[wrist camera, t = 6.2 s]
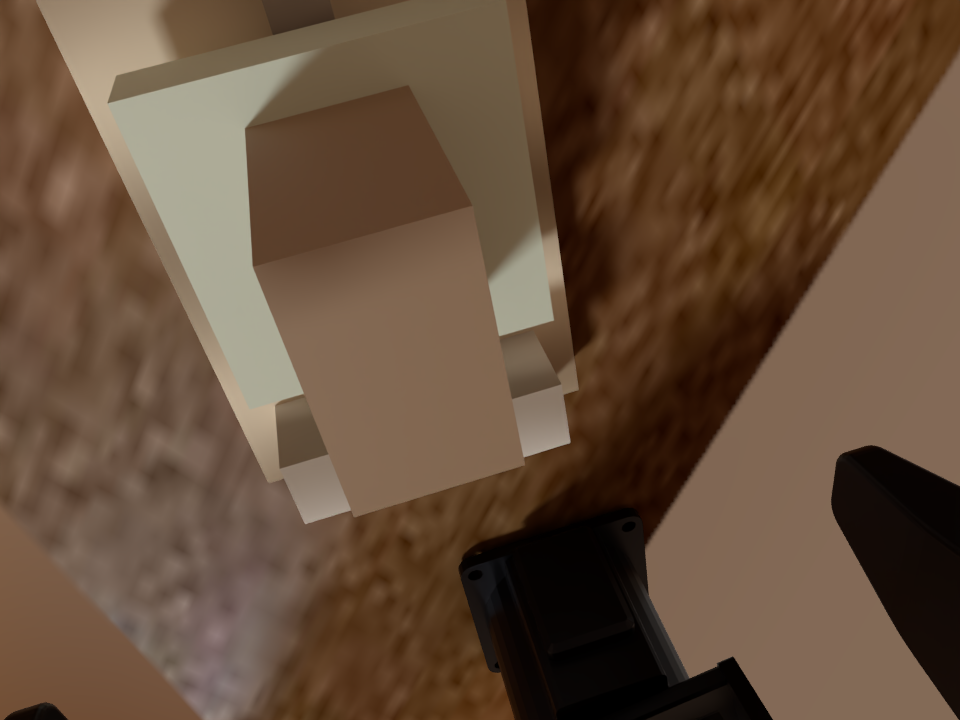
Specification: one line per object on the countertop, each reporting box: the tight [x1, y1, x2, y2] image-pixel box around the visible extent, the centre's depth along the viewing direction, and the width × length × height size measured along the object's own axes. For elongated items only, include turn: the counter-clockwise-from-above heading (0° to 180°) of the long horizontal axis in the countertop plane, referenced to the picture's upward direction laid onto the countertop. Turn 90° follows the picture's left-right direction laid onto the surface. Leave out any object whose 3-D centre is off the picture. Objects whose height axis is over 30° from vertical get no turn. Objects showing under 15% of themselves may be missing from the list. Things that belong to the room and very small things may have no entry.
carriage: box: [107, 0, 554, 517], centre depth 15 cm, size 7×7×6 cm
